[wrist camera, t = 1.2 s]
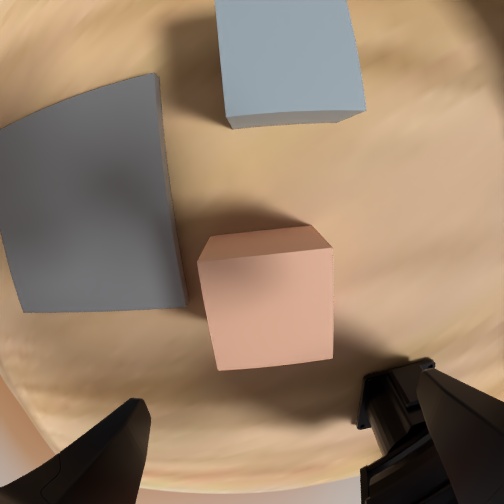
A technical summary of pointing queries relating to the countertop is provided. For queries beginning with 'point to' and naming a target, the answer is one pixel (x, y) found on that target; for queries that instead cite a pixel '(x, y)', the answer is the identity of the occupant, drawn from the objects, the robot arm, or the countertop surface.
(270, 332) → the terracotta brick
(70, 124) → the base plate
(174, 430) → the countertop surface
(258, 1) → the slate-grey brick
